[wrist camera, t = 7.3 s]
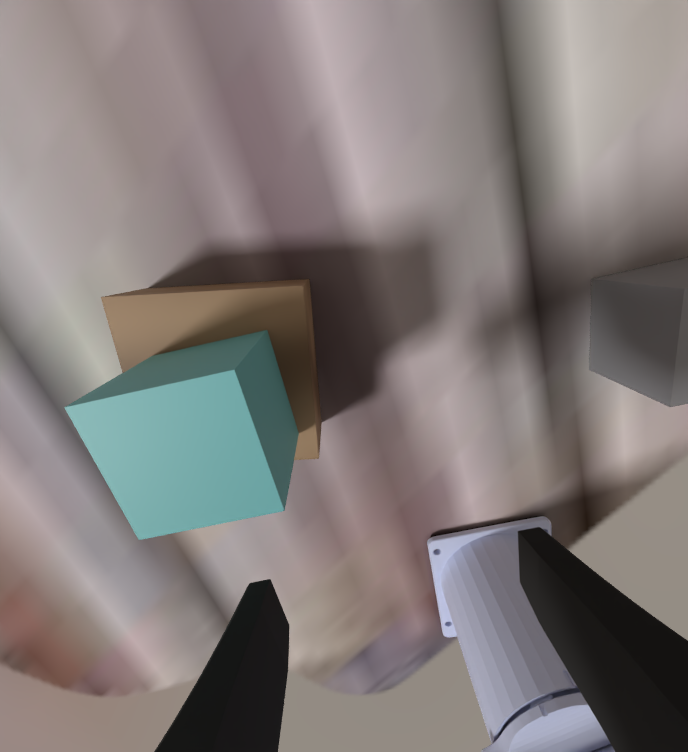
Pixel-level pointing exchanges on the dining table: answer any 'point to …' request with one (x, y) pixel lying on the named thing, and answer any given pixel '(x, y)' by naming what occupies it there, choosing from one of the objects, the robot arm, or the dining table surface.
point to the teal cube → (193, 436)
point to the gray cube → (643, 330)
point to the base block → (228, 333)
